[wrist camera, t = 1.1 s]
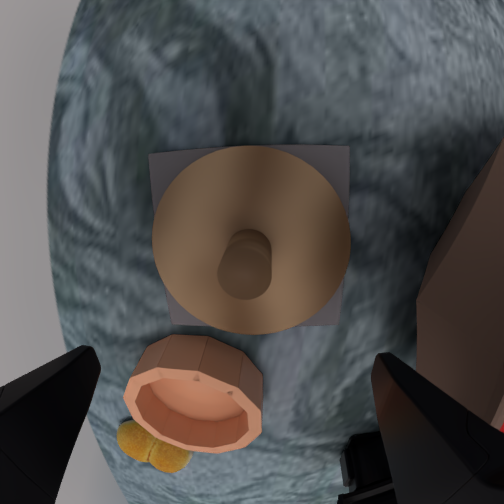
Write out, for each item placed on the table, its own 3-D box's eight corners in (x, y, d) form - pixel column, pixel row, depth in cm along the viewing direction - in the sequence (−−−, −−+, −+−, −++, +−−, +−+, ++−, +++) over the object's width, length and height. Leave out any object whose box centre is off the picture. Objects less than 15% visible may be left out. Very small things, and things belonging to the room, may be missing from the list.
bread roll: (124, 405, 27) (111, 432, 23) (201, 436, 27) (194, 465, 24) (118, 436, 29) (108, 459, 26) (183, 462, 30) (177, 486, 26)
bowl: (261, 337, 22) (259, 373, 18) (263, 422, 25) (262, 455, 22) (127, 330, 22) (107, 360, 19) (157, 414, 26) (146, 443, 22)
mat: (346, 146, 17) (349, 146, 16) (336, 318, 21) (338, 324, 20) (153, 153, 17) (148, 154, 17) (174, 318, 22) (171, 324, 21)
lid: (349, 145, 16) (375, 147, 12) (338, 324, 20) (352, 366, 16) (148, 154, 17) (112, 158, 12) (171, 324, 21) (152, 363, 17)
